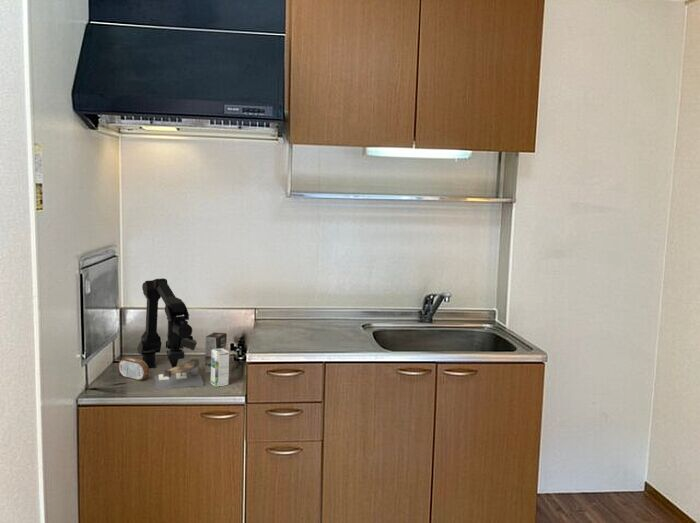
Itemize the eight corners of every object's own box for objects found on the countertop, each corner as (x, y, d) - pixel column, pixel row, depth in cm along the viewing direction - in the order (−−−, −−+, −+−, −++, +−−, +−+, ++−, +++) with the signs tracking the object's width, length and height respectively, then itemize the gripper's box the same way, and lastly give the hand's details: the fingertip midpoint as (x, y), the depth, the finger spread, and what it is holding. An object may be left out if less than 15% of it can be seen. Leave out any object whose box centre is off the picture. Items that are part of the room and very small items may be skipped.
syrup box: (210, 383, 231) (210, 349, 230) (223, 381, 235) (223, 347, 233) (215, 387, 227) (216, 352, 225) (229, 385, 230) (229, 351, 229)
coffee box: (218, 373, 245) (218, 337, 243) (204, 372, 246) (204, 336, 244) (226, 367, 254) (227, 333, 252) (213, 366, 255) (214, 331, 253)
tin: (149, 380, 232) (149, 360, 231) (143, 382, 229) (143, 362, 228) (123, 374, 238) (122, 355, 237) (117, 376, 235) (117, 357, 234)
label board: (154, 378, 234) (154, 366, 234) (199, 375, 241) (200, 363, 240) (155, 389, 221) (155, 376, 221) (203, 385, 228) (203, 373, 227)
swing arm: (193, 363, 240) (193, 358, 239) (200, 364, 238) (200, 359, 238) (162, 375, 221) (162, 370, 221) (170, 377, 220) (170, 371, 220)
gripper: (197, 337, 221) (197, 375, 223) (193, 325, 238) (192, 361, 240) (168, 339, 217) (167, 377, 219) (165, 326, 234) (165, 362, 236)
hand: (174, 369), depth 228 cm, fingers closed
